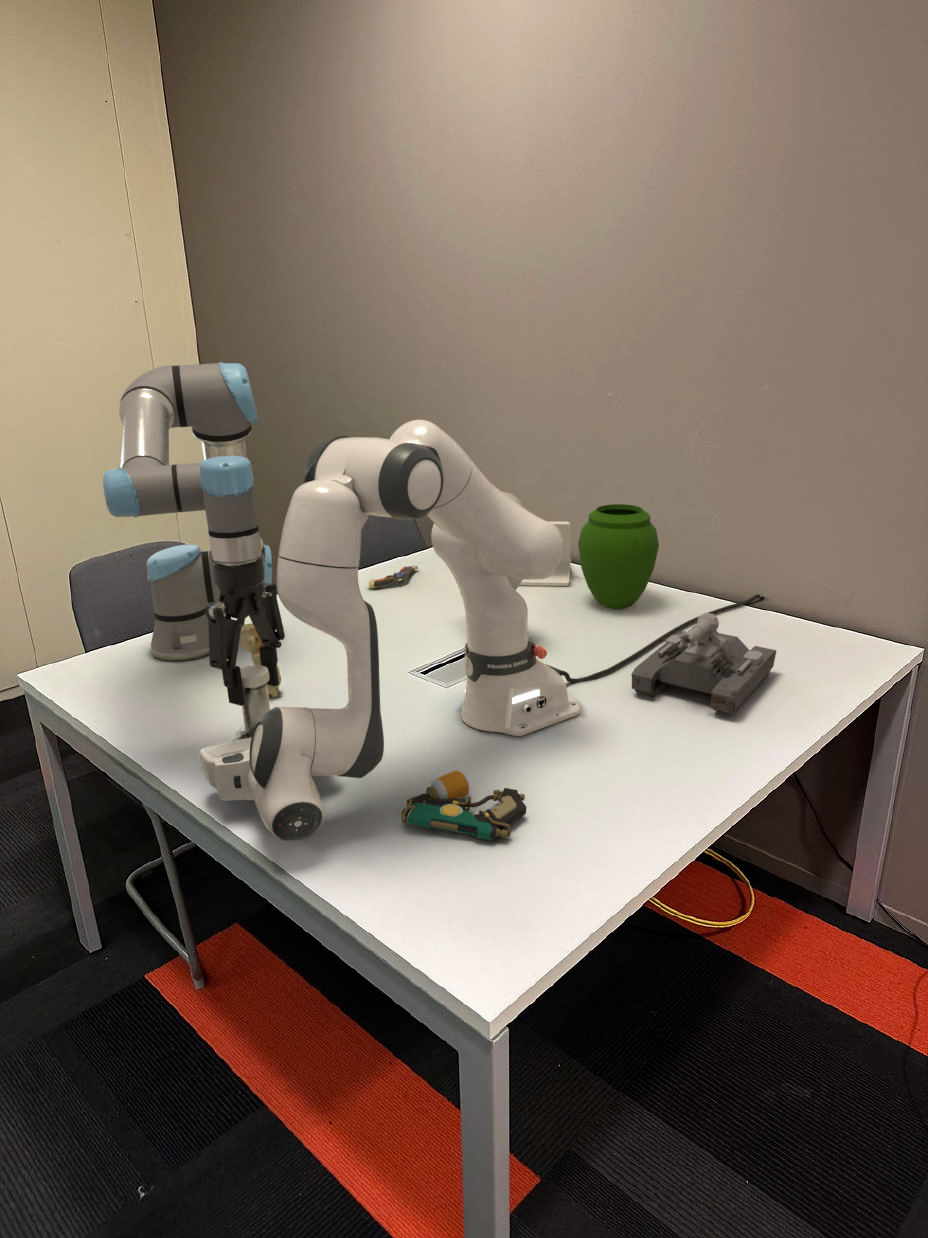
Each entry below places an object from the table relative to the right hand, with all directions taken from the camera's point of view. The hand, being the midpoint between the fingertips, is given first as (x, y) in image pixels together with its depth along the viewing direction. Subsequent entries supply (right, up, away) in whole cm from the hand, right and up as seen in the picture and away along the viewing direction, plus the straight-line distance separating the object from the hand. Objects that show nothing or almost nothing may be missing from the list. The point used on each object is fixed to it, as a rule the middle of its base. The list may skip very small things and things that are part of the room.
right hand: (258, 731), depth 143 cm
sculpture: (-6, +3, +28) cm, 29 cm away
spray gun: (+35, -11, -14) cm, 39 cm away
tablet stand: (+52, +31, +96) cm, 114 cm away
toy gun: (+15, +30, +96) cm, 101 cm away
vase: (+73, +22, +72) cm, 104 cm away
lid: (0, +10, -5) cm, 11 cm away
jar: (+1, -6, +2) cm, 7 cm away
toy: (+82, +6, +27) cm, 87 cm away
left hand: (0, +7, -3) cm, 7 cm away
